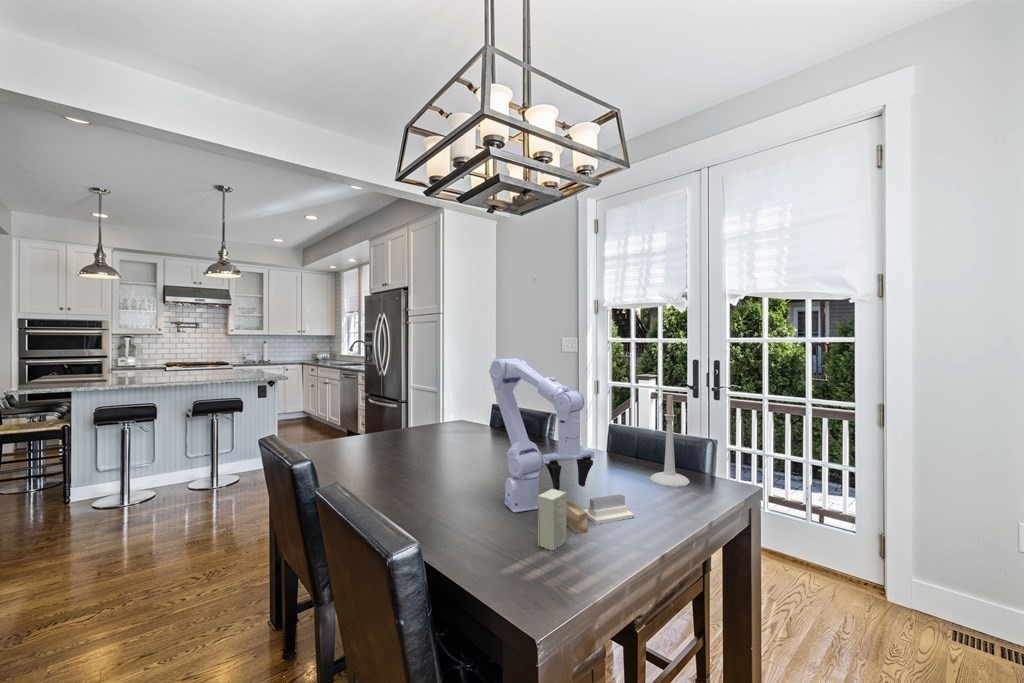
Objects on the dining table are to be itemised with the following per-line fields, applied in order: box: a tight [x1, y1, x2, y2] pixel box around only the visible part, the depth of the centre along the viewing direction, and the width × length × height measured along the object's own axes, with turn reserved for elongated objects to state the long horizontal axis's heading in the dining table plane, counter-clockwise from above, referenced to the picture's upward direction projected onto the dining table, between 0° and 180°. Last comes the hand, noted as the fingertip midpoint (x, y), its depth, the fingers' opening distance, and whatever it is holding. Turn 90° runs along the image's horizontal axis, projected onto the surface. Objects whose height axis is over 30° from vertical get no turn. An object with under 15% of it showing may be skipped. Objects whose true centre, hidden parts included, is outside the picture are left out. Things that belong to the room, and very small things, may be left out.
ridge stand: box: [582, 493, 635, 525], centre depth 125 cm, size 12×8×5 cm, turn 112°
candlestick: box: [649, 394, 690, 488], centre depth 155 cm, size 13×13×30 cm
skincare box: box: [537, 488, 567, 551], centre depth 107 cm, size 6×4×12 cm
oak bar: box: [566, 498, 588, 534], centre depth 120 cm, size 3×14×5 cm, turn 21°
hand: (569, 487), depth 120 cm, fingers open, 7 cm apart
